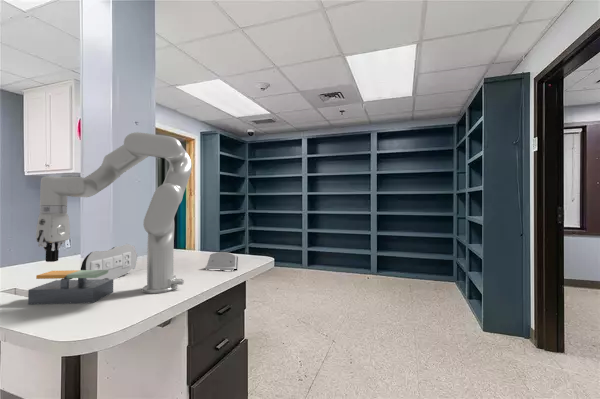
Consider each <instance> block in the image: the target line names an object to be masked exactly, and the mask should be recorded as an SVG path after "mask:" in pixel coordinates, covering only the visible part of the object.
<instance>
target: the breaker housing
mask: <svg viewBox="0 0 600 399" xmlns="http://www.w3.org/2000/svg"><path fill="white" fill-rule="evenodd" d="M27 293H28V294H27V295H28V297H27V298H28V299H27V304H29V305H59V304H60V305H61V304H62V305H65V304H67V305H68V304H69V305H70V304H71V305H72V304H94V303H96V302H97V301H99V300H101V299H103V298H105V297H107V296H108V295H111V294H113V293H114V280H113V279H97V280H86V278H77V279H70V280H69V279H64V278H60V279H58V280H57V279H55V280H53V281H50V282H47V283H43V284H41V285H37V286H35V287H32V288H30V289H28V291H27Z"/></svg>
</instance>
